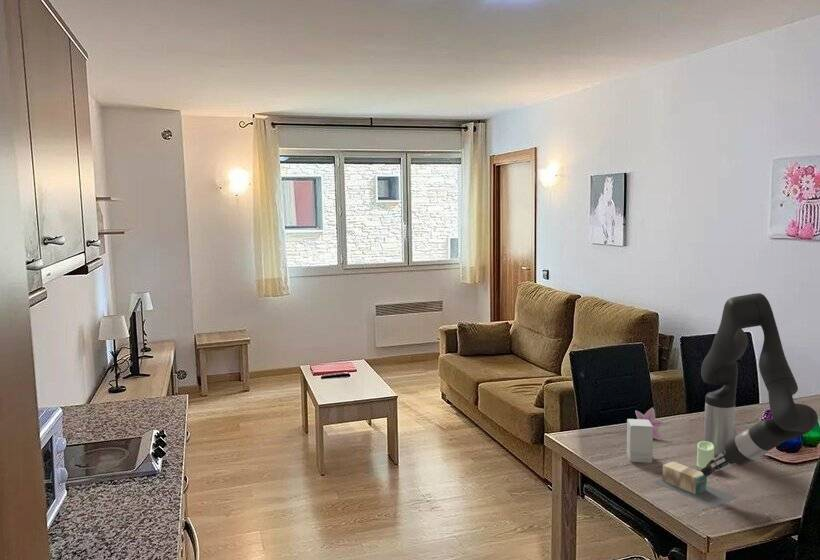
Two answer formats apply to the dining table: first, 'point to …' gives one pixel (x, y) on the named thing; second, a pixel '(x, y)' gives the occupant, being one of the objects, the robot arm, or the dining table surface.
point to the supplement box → (639, 440)
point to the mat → (702, 494)
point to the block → (684, 477)
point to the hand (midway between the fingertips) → (704, 473)
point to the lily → (651, 421)
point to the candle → (704, 453)
